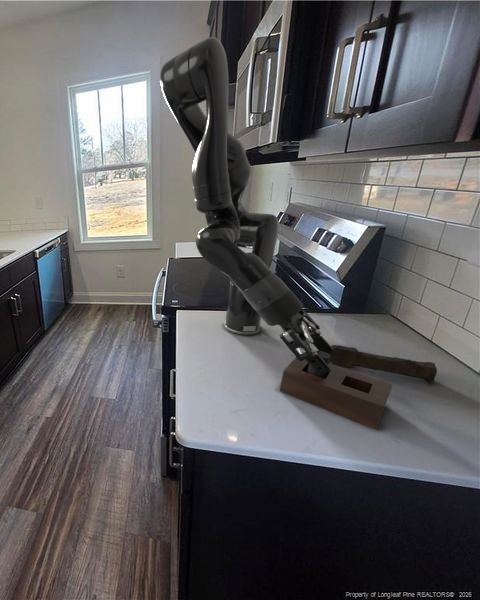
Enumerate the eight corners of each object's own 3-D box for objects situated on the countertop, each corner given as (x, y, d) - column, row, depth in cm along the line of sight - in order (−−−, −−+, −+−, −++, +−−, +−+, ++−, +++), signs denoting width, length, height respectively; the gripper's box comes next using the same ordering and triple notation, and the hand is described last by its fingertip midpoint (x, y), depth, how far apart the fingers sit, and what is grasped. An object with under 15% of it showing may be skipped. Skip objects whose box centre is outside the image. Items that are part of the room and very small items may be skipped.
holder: (294, 373, 72) (298, 354, 71) (385, 405, 61) (393, 383, 59) (279, 390, 67) (283, 370, 65) (376, 429, 56) (384, 406, 54)
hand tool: (427, 375, 69) (434, 357, 67) (433, 385, 66) (441, 366, 64) (320, 355, 79) (324, 338, 77) (321, 363, 75) (325, 346, 74)
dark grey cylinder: (305, 385, 68) (314, 348, 65) (323, 391, 66) (332, 354, 63) (300, 391, 66) (309, 354, 63) (318, 398, 64) (328, 360, 61)
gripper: (281, 299, 58) (346, 372, 55) (293, 278, 68) (348, 339, 65) (246, 319, 63) (304, 386, 60) (261, 297, 73) (312, 354, 71)
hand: (327, 362), depth 63 cm, fingers open, 8 cm apart
